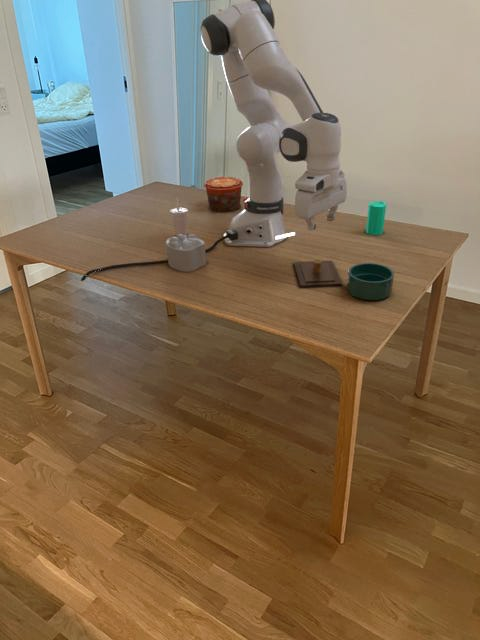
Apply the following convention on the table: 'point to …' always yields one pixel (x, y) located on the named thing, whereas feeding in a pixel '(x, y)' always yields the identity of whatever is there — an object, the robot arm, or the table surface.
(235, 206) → the food container
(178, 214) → the smoothie
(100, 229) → the table surface
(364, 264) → the bowl
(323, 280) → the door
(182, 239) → the lumpy-topped squat cylinder
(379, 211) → the candle
